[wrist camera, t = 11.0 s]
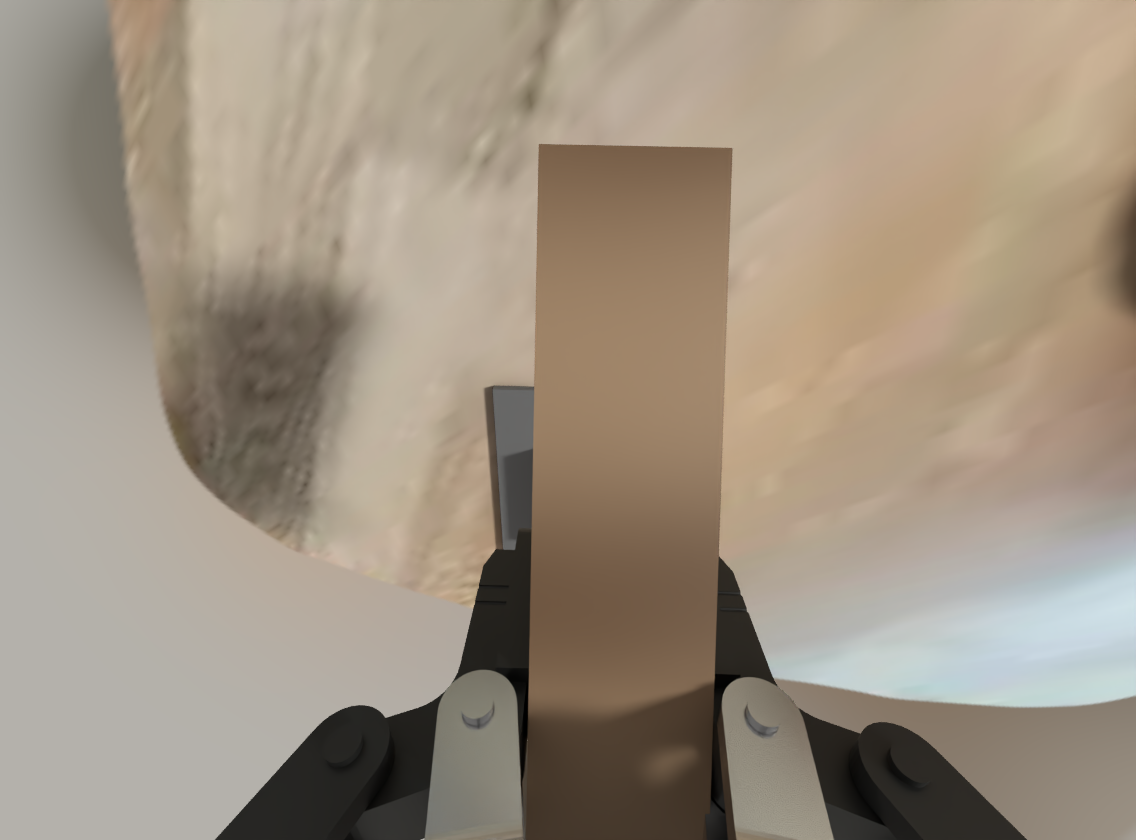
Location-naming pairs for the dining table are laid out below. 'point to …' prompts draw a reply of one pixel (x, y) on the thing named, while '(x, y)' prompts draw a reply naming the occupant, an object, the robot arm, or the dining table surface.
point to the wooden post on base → (626, 490)
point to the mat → (514, 458)
